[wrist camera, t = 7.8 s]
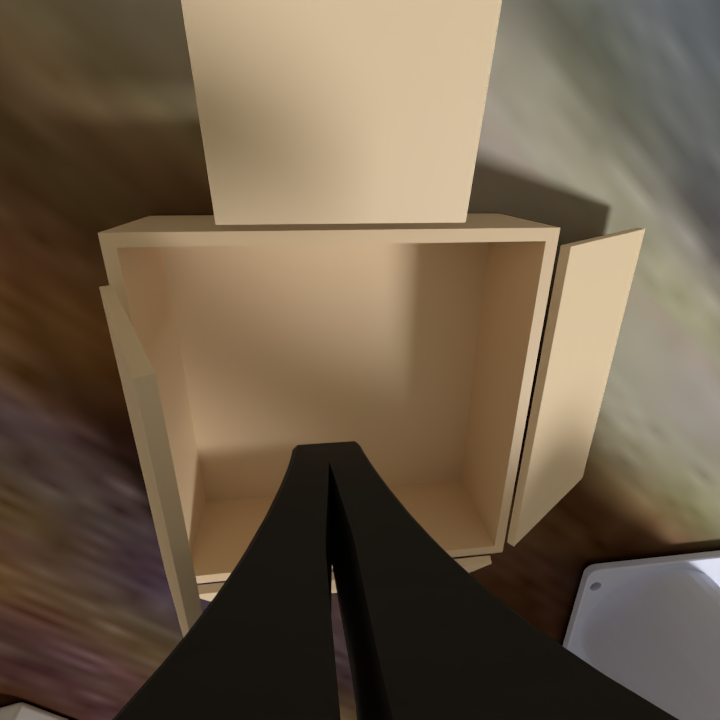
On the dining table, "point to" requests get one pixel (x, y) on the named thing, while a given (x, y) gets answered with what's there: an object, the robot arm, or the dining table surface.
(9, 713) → the jar
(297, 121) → the flap
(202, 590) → the flap
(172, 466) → the flap
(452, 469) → the carton
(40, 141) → the dining table surface
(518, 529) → the flap
